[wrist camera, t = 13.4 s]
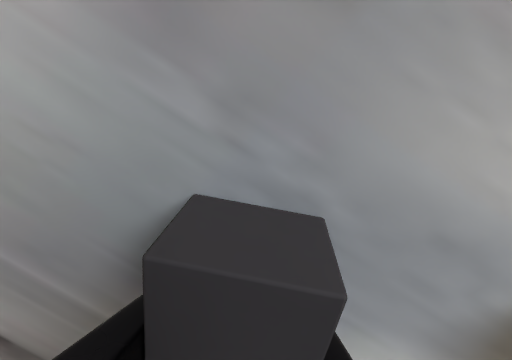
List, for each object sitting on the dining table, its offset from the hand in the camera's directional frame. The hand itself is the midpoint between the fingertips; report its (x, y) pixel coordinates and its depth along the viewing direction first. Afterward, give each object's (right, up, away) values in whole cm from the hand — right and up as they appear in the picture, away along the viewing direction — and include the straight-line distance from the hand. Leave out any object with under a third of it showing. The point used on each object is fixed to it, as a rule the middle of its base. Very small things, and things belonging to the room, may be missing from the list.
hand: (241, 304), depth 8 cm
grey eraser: (0, 0, +1) cm, 1 cm away
